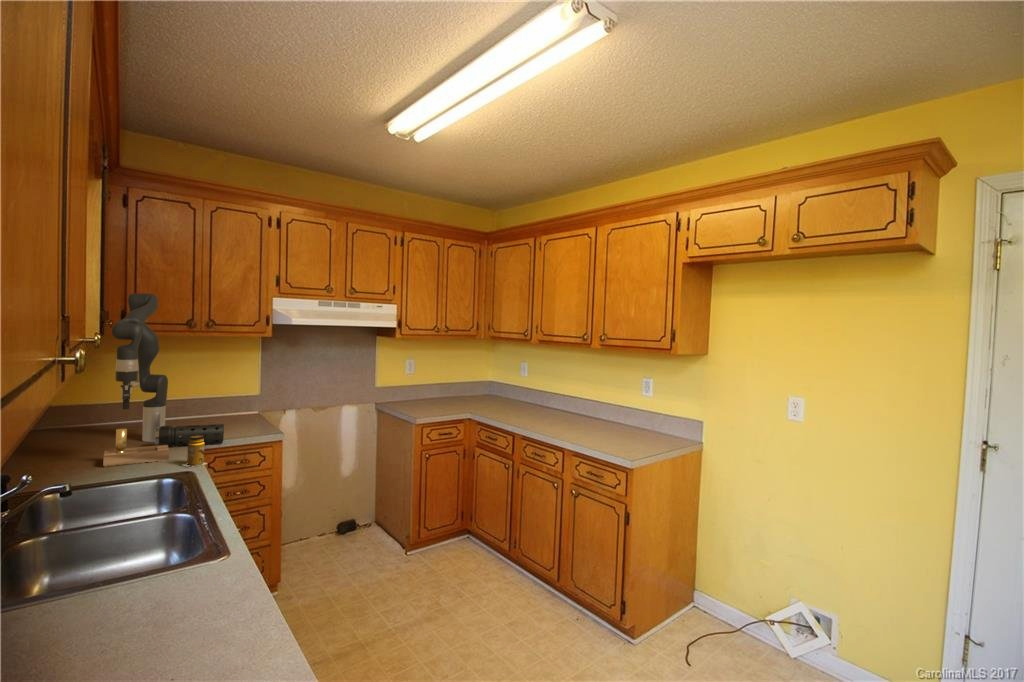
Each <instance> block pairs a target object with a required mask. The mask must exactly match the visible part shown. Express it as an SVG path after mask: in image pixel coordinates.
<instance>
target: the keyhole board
mask: <svg viewBox="0 0 1024 682" xmlns="http://www.w3.org/2000/svg"><path fill="white" fill-rule="evenodd" d="M169 448H170V447H169V446H168V445H152V446H151V445H150V446H139V447H137V446H136V447H126V450H125V452H124V453H117V450H116V448H114V449H105V450H104V453H103V465H102V467H103V466H107V465H116V464H125V463H138V462H151V461H162V462H164V461H163V460H169V461H170V449H169Z"/></svg>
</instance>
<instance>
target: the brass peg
mask: <svg viewBox="0 0 1024 682" xmlns="http://www.w3.org/2000/svg"><path fill="white" fill-rule="evenodd" d="M127 440H128V428H118V429H115V449H116V450H117V453H124V452H125V450H126V448H127Z"/></svg>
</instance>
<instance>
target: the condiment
mask: <svg viewBox="0 0 1024 682" xmlns="http://www.w3.org/2000/svg"><path fill="white" fill-rule="evenodd" d="M203 441H204V437H203V436H200V435H198V436H191V437H190V438H189V443H188V444H187V458H186V459H187V460H186V461H187V462H186V463H188V464H187V465H190V466H192V467H191V468H194V467H200V466H204V465H208V462H205V446H206V444H205V443H204V442H203Z"/></svg>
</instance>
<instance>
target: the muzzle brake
mask: <svg viewBox="0 0 1024 682" xmlns="http://www.w3.org/2000/svg"><path fill="white" fill-rule="evenodd" d="M224 433H225V424H224V423H215V424H195V425H194V424H193V425H191V424H190V425H176V426H172V425H165V426H161V427H158V428H156V429H155V438H154V446H159V445H168V447H169V446H170V447H171V448H173V447H172V446H178V447H180V446H182V445H183V446H185V445H187V446H188V443H189V438H190V437H191V436H198V435H200V436H203V437H204V441H203V442H204V443H205V445H217V444H218V445H219V444H223V442H224Z"/></svg>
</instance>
